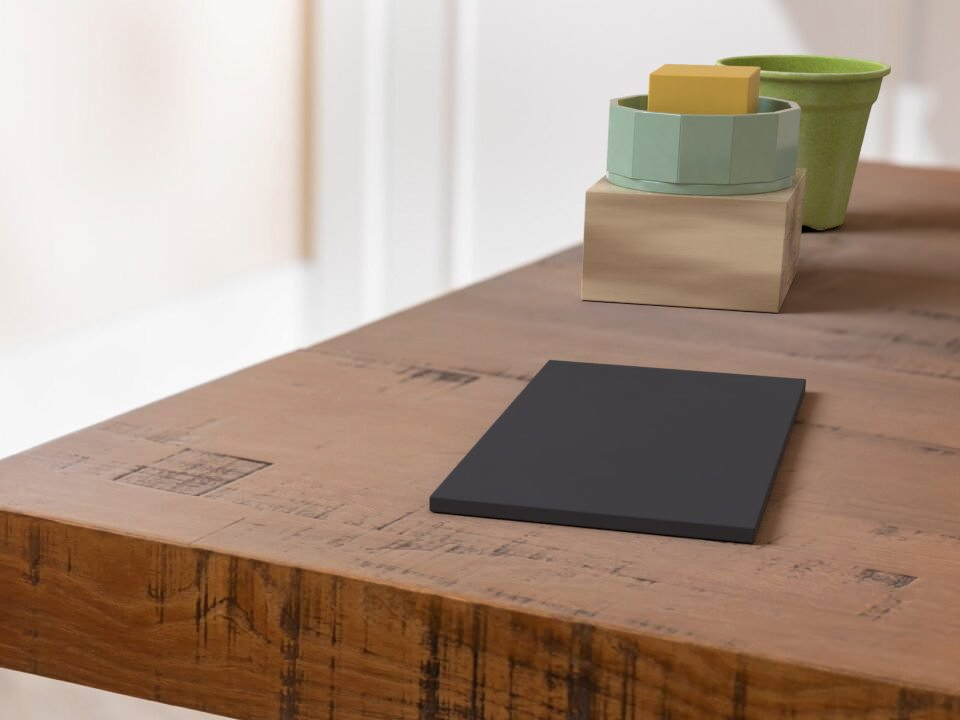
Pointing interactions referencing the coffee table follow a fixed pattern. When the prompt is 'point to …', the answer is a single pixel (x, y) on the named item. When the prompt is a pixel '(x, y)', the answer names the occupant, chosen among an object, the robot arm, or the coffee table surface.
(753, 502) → the mat
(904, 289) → the coffee table surface
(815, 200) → the plant pot
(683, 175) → the faceted mint tin
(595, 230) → the block
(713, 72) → the block
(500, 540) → the coffee table surface
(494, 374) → the coffee table surface
